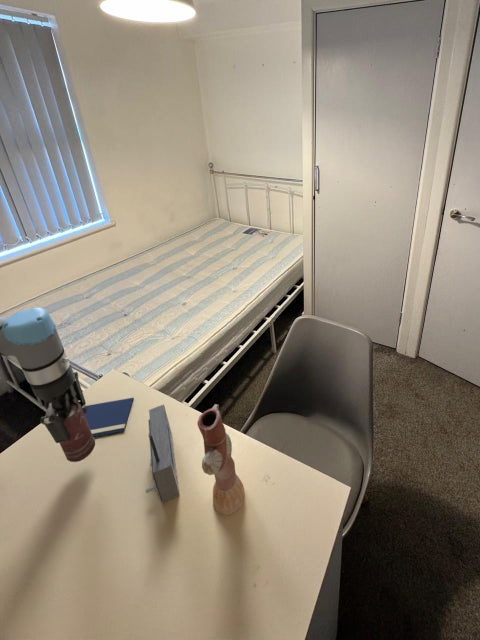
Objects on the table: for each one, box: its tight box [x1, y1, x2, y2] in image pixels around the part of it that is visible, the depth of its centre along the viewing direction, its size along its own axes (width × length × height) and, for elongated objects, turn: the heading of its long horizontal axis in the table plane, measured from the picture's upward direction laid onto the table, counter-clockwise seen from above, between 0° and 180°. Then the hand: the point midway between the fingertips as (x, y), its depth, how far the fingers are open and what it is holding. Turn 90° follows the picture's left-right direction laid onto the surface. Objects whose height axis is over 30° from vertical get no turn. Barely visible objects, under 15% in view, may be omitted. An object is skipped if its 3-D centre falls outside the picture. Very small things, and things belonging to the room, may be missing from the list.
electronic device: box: [145, 404, 180, 503], centre depth 77 cm, size 17×7×20 cm, turn 26°
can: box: [59, 402, 96, 463], centre depth 77 cm, size 6×6×14 cm
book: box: [83, 397, 135, 439], centre depth 93 cm, size 14×11×1 cm
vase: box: [196, 403, 245, 516], centre depth 68 cm, size 10×7×30 cm
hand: (81, 441), depth 80 cm, fingers open, 3 cm apart
